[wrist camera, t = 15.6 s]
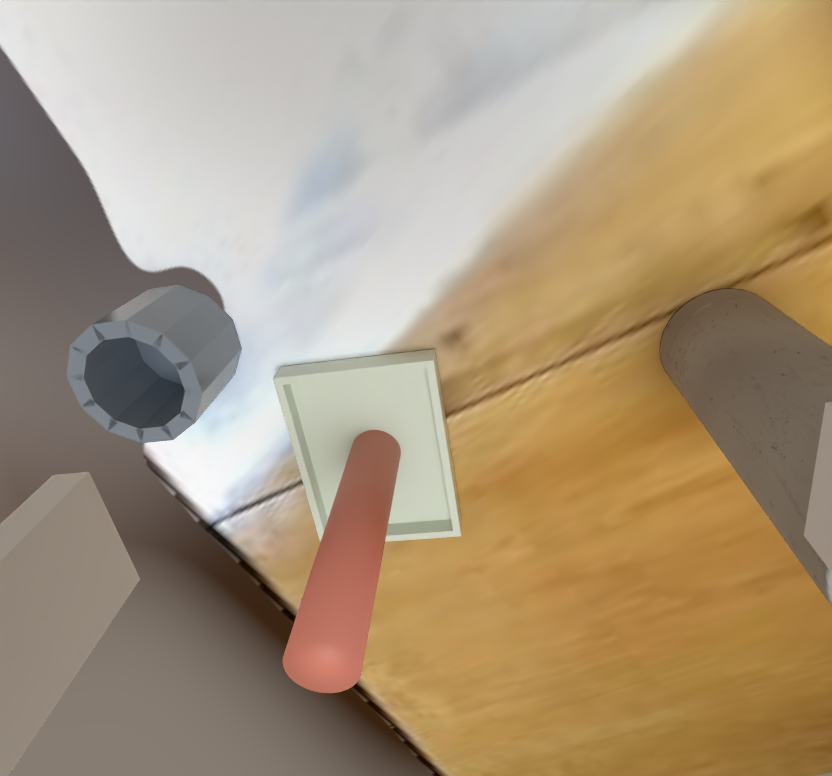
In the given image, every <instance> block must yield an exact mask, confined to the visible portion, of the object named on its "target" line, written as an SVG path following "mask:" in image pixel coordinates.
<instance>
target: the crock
mask: <svg viewBox="0 0 832 776" xmlns="http://www.w3.org/2000/svg"><path fill="white" fill-rule="evenodd" d="M240 353H241V345H240V342H239V339H238V336H237V332H236V329H235V326H234V323H233V320H232V319H231V318H230V317H229V316H228V315H227V314H226V313H225V312H224V310H223V309H222V308H221V307H219V305H218V304H217V303H216V302H215V301H214V300H213V299H212V298H211V297H210V296H208V295H205V294H203V293H200V292H198V291H195V290H192V289H190V288H187V287H184V286H182V285H179V284H178V285H171V286H164V287H157V288H150V289H148V290H146V291H145V292H143V293H142V294H140V295H138V296H137V297H135V298H133V299H132V300H130V301H129V302H127V303H126V304H124V305H122V306H121V307H119V308H117V309H116V310H114V311H113V312H111V313H109V314H108V315H106V316H104V317H103V318H101V319H100V320H98V321H96V322H95V323H93V324H92V325H91V326H90V327H89V328H88V329H87V330H85V332H83V333H82V334H81V335H80V336H79V337H78V338H77V339H76V340H75V341H74V342H73V343H72V344H71V345H70V351H69V359H68V369H67V378H68V380H69V382H70V384H71V386H72V389H73V391H74V393H75V395H76V397H77V400H78V402H79V404H80V406H81V407H82V409H84V410H85V411H86V412H87V413H88V414H89V415H90V416H92V417H93V418H94V419H95V420H96V421H97V422H98V423H99V424H101V425H102V426H103V427H104V428H105V429H106V430H107V431H109V432H112V433H115V434H117V435H120V436H123V437H126V438H129V439H132V440H134V441H137V442H140V443H147V442H157V441H167V440H174V439H175V438H176V437H177V436H179V435H180V434H181V433H182V432H184V431H185V430H186V429H187V428H189V427H190V426H191V425H192V424H194V423H195V422H196V421H197V420H198V418H199V417H200V416H201V415H202V414H203V412H204V411H205V410H206V409H207V407H208V406H209V405H210V404H211V403H212V401H213V400H214V399H215V398H216V397H217V395H218V394H219V393H220V392H221V390H222V389H223V388H224V387H225V386H226V384H227V383H228V382H229V381H230V379H231V378H232V377H233V376H234V375H235V371H236V368H237V364H238V360H239V357H240Z"/></svg>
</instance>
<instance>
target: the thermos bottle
mask: <svg viewBox="0 0 832 776" xmlns="http://www.w3.org/2000/svg"><path fill="white" fill-rule="evenodd" d="M660 356H661V362H662V365H663V367H664V369H665V371H666V373H667V374H668V376H669V377H670V379H671V380H672V381H673V383H674V384H675V386H676V387H677V388H678V390H679V391H680V393H681V394H682V395H683V397H684V398H685V400H686V401H687V403H688V404H689V405H690V407H691V408H692V410H693V411H694V412H695V414H696V415H697V417H698V418H699V420H700V421H701V422H702V424H703V425H704V427H705V428H706V429H707V431H708V432H709V434H710V435H711V436H712V438H713V439H714V441H715V442H716V444H717V445H718V446H719V448H720V449H721V451H722V452H723V453H724V455H725V456H726V458H727V459H728V461H729V462H730V463H731V465H732V466H733V468H734V469H735V470H736V472H737V473H738V475H739V476H740V477H741V479H742V480H743V482H744V483H745V485H746V486H747V487H748V489H749V490H750V492H751V493H752V494H753V496H754V497H755V499H756V500H757V502H758V503H759V504H760V506H761V507H762V509H763V510H764V511H765V513H766V514H767V516H768V517H769V518H770V520H771V521H772V523H773V524H774V526H775V527H776V528H777V530H778V531H779V533H780V534H781V535H782V537H783V538H784V540H785V541H786V543H787V544H788V545H789V547H790V548H791V550H792V551H793V552H794V554H795V555H796V557H797V558H798V559H799V561H800V562H801V564H802V565H803V567H804V568H805V569H806V571H807V572H808V574H809V575H810V576H811V578H812V579H813V581H814V582H815V584H816V585H817V586H818V588H819V589H820V591H821V592H822V593H823V595H824V596H825V598H826V599H827V600H828V602H829V603H830V605H831V606H832V572H831V571H830V570H829V568H828V567H827V566H826V564H825V563H824V562H823V560H822V559H821V558H820V556H819V555H818V554H817V552H816V551H815V550H814V548H813V547H812V546H811V544H810V543H809V542H808V540H807V539H806V538H805V537H804V530H805V524H806V518H807V512H808V506H809V500H810V494H811V488H812V482H813V475H814V469H815V463H816V457H817V451H818V445H819V439H820V433H821V427H822V421H823V414H824V408H825V403H826V402H832V347H831V346H830V345H828V344H827V343H826V342H824V341H823V340H821V339H820V338H818V337H817V336H816V335H814V334H813V333H811V332H810V331H808V330H807V329H806V328H804V327H803V326H801V325H800V324H798V323H797V322H796V321H794V320H793V319H791V318H790V317H788V316H787V315H786V314H784V313H783V312H781V311H780V310H778V309H777V308H776V307H774V306H773V305H771V304H770V303H769V302H767V301H766V300H764V299H763V298H761V297H759V296H758V295H756V294H754V293H751V292H748V291H745V290H740V289H720V290H715V291H711V292H708V293H705V294H703V295H700V296H698V297H696V298H694V299H693V300H691V301H690V302H688V303H686V304H685V305H684V306H683V307H682V308H681V309H679V310H678V311H677V312H676V313H675V315H674V316H673V317H672V318H671V320H670V321H669V323H668V325H667V326H666V328H665V330H664V333H663V336H662V339H661V345H660Z"/></svg>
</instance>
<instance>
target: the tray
mask: <svg viewBox="0 0 832 776" xmlns="http://www.w3.org/2000/svg"><path fill="white" fill-rule="evenodd" d="M273 381H274V384H275V388H276V391H277V395H278V398H279V401H280V405H281V408H282V412H283V415H284V419H285V422H286V426H287V429H288V432H289V436H290V439H291V443H292V446H293V450H294V453H295V457H296V460H297V463H298V467H299V470H300V474H301V477H302V481H303V484H304V487H305V491H306V494H307V498H308V501H309V505H310V508H311V512H312V515H313V518H314V522H315V525H316V529H317V532H318V536H319V539H320V542H321V539H322V536H323V533H324V530H325V527H326V524H327V521H328V518H329V515H330V512H331V508H332V505H333V502H334V499H335V496H336V493H337V490H338V487H339V484H340V481H341V478H342V475H343V472H344V468H345V465H346V462H347V459H348V456H349V453H350V450H351V447H352V444H353V441H354V440H355V438H356V437H357V436H358V435H359V434H361V433H363V432H365V431H368V430H380V431H384V432H386V433H388V434H390V435H392V436H393V437H394V438H395V439H396V440H397V442H398V443H399V446H400V449H401V456H400V462H399V467H398V473H397V478H396V484H395V489H394V495H393V500H392V506H391V511H390V517H389V522H388V528H387V533H386V539H385V541H399V540H413V539H427V538H441V537H455V536H461V514H460V507H459V501H458V494H457V488H456V481H455V475H454V468H453V462H452V455H451V449H450V442H449V436H448V429H447V423H446V416H445V410H444V403H443V397H442V391H441V384H440V378H439V371H438V365H437V358H436V352H435V349H429V350H421V351H412V352H404V353H395V354H386V355H378V356H369V357H360V358H352V359H343V360H334V361H326V362H317V363H308V364H300V365H291V366H282V367H280V369H279V370H278V372H277V373H276V375H275V376H274V378H273Z"/></svg>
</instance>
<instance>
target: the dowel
mask: <svg viewBox="0 0 832 776" xmlns="http://www.w3.org/2000/svg"><path fill="white" fill-rule="evenodd" d="M400 456H401V449H400V446H399V443H398V442H397V440H396V439H395V438H394V437H393V436H392V435H390V434H388V433H386V432H384V431H380V430H368V431H365V432H363V433H361V434H359V435H358V436H357V437H356V438H355V440H354V441H353V444H352V447H351V450H350V453H349V456H348V459H347V462H346V465H345V468H344V472H343V475H342V478H341V481H340V484H339V487H338V490H337V493H336V496H335V499H334V502H333V505H332V508H331V512H330V515H329V518H328V521H327V524H326V527H325V530H324V533H323V536H322V539H321V542H320V545H319V548H318V552H317V555H316V558H315V561H314V564H313V567H312V570H311V573H310V576H309V579H308V582H307V585H306V589H305V592H304V595H303V598H302V601H301V604H300V607H299V610H298V613H297V616H296V619H295V622H294V625H293V629H292V632H291V635H290V638H289V641H288V644H287V647H286V650H285V653H284V656H283V666H284V669H285V671H286V673H287V674H288V676H289V677H290V678H291V679H292V680H293V681H294V682H296V683H297V684H299V685H300V686H302V687H304V688H306V689H309V690H312V691H316V692H320V693H336V692H341V691H344V690H347V689H349V688H351V687H352V686H354V685H355V684H356V683H357V681H358V680H359V678H360V676H361V671H362V665H363V660H364V654H365V649H366V643H367V638H368V632H369V627H370V621H371V616H372V610H373V605H374V599H375V594H376V588H377V583H378V577H379V572H380V566H381V561H382V555H383V550H384V544H385V539H386V533H387V528H388V522H389V517H390V511H391V506H392V500H393V495H394V489H395V484H396V478H397V473H398V467H399V462H400Z"/></svg>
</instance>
